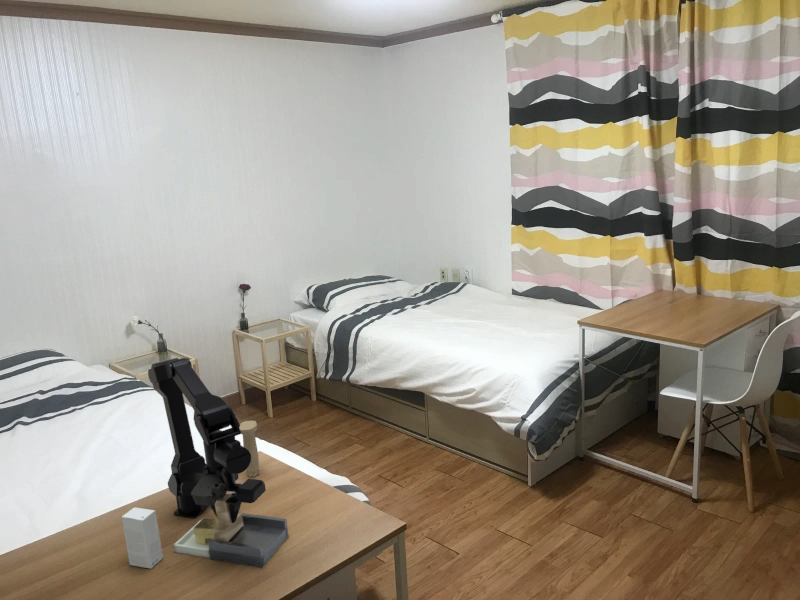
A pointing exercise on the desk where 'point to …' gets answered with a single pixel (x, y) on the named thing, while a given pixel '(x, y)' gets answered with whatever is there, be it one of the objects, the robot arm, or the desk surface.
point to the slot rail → (251, 541)
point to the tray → (191, 545)
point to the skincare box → (142, 537)
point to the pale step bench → (226, 521)
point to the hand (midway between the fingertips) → (227, 521)
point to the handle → (250, 446)
